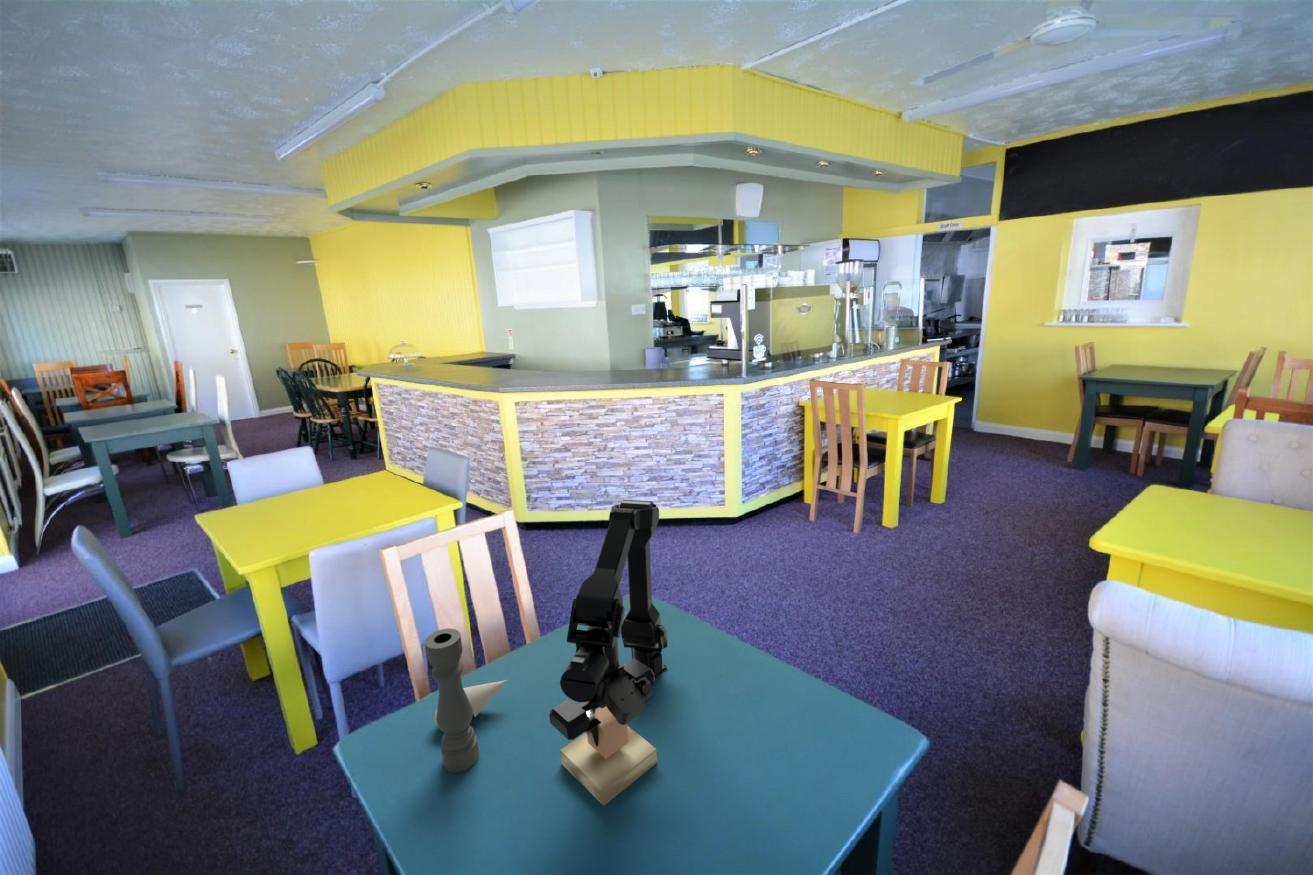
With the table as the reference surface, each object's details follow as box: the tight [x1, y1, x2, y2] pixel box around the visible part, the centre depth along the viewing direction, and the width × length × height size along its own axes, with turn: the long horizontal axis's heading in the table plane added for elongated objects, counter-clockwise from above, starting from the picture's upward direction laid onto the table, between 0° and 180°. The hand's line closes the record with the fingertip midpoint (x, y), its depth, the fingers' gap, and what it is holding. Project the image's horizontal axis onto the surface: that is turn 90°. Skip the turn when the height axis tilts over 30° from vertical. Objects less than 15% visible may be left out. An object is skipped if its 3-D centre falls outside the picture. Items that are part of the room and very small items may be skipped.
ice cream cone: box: [434, 679, 509, 726], centre depth 114 cm, size 6×6×15 cm
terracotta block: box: [587, 707, 628, 759], centre depth 99 cm, size 5×5×6 cm
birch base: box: [559, 725, 658, 807], centre depth 101 cm, size 12×12×3 cm
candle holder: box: [424, 628, 480, 774], centre depth 100 cm, size 6×6×25 cm
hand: (607, 736), depth 100 cm, fingers closed on terracotta block, 5 cm apart
